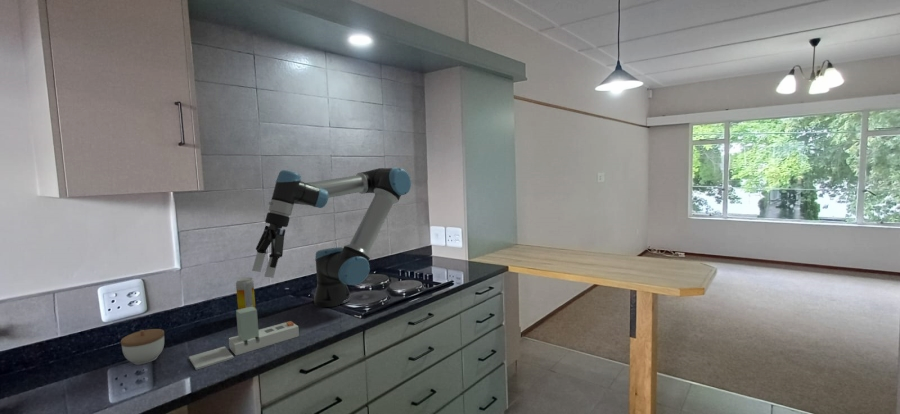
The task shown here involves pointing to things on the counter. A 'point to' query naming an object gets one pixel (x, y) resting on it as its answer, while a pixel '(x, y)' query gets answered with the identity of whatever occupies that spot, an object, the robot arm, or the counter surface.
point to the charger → (247, 323)
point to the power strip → (265, 338)
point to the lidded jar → (143, 346)
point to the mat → (210, 357)
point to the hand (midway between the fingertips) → (262, 274)
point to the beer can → (245, 293)
